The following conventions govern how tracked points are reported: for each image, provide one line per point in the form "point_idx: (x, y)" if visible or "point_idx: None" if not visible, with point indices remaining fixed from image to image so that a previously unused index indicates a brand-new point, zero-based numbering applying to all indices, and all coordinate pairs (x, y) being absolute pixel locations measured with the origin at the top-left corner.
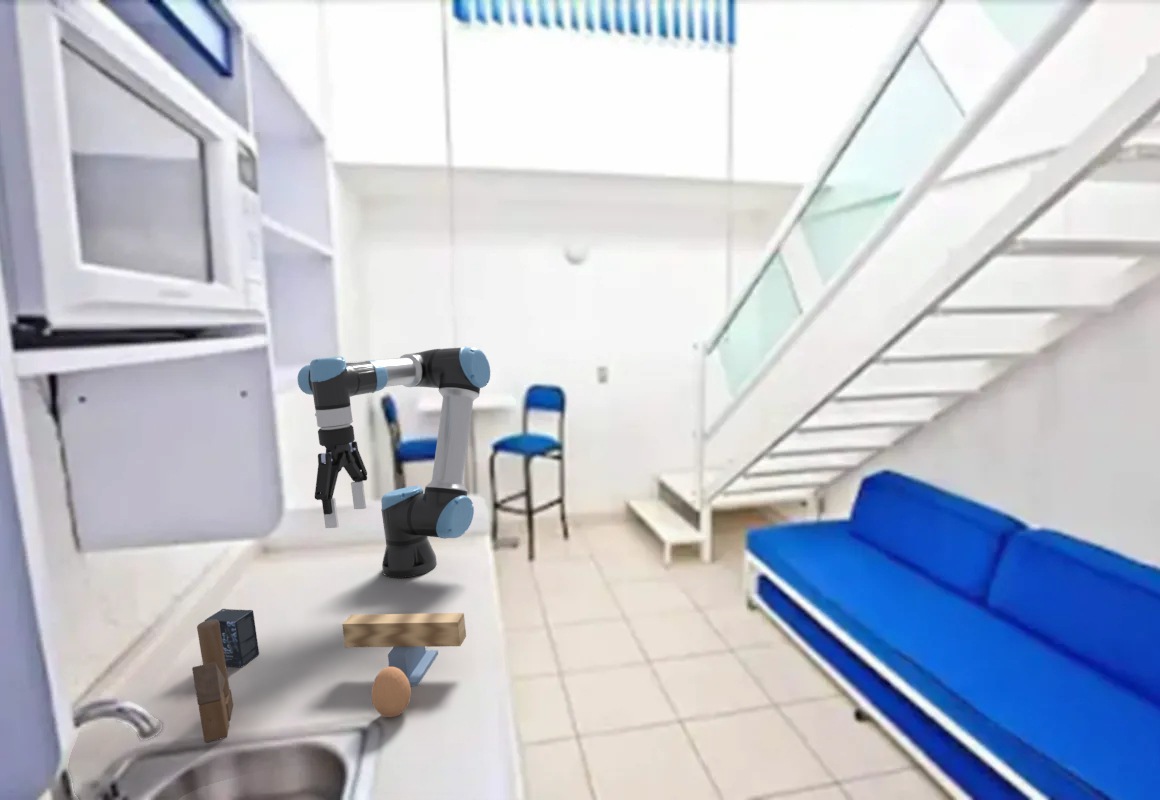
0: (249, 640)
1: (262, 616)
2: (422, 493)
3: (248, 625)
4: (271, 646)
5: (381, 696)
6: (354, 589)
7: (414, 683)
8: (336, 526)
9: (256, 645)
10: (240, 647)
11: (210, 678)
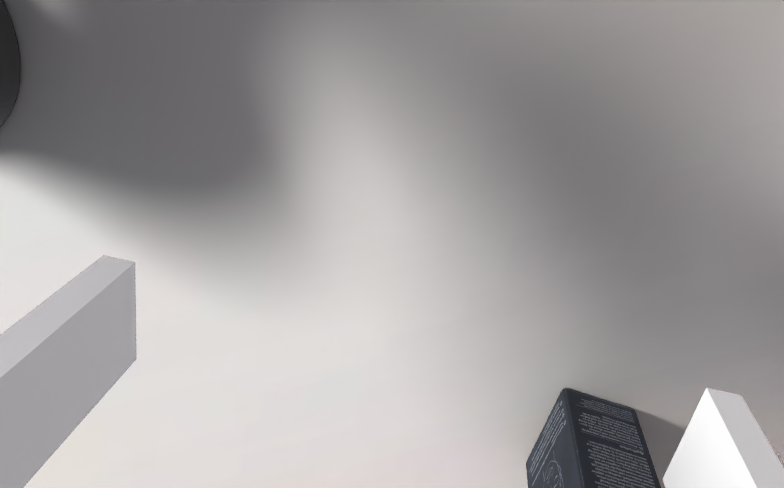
0: (606, 438)
1: (301, 444)
2: None
3: (609, 473)
4: (517, 368)
5: None
6: (121, 218)
7: None
8: (746, 408)
9: (576, 409)
10: (643, 449)
11: None
